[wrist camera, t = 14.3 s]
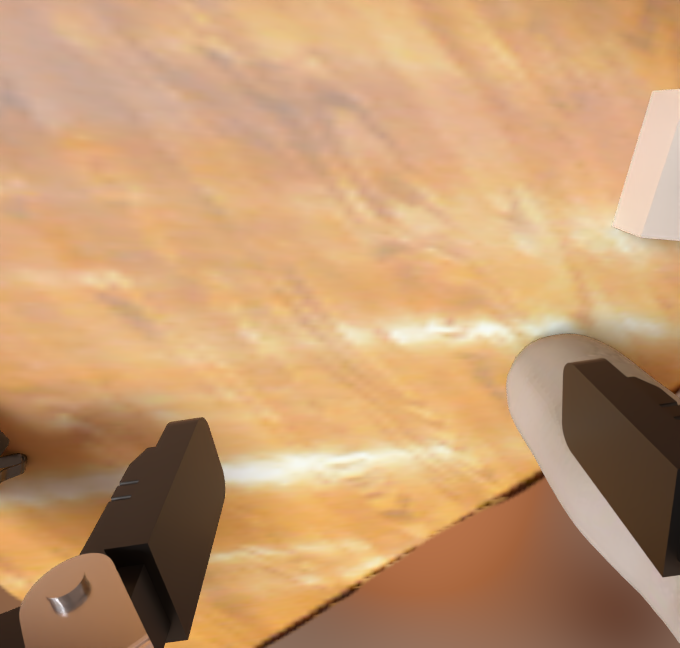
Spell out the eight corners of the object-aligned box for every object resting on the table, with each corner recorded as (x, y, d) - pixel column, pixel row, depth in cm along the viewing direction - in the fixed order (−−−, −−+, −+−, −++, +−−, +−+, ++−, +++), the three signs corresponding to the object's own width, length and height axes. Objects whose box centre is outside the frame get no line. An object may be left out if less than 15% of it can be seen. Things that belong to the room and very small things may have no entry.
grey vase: (621, 332, 44) (1043, 641, 18) (566, 425, 48) (851, 790, 22) (521, 300, 42) (826, 588, 17) (473, 398, 46) (661, 757, 20)
